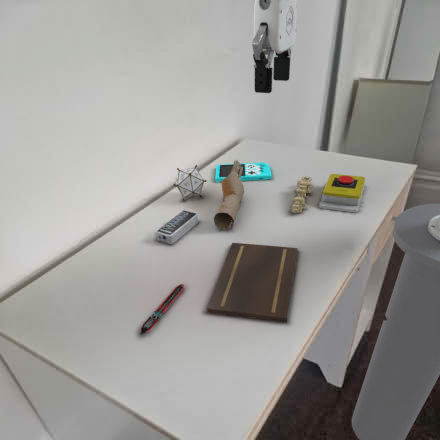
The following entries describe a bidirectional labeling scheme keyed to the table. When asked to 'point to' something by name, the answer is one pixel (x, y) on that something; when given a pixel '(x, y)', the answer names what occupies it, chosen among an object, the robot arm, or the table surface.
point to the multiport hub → (177, 227)
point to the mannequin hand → (230, 198)
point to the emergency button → (343, 193)
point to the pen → (161, 309)
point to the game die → (189, 182)
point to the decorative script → (301, 194)
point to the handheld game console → (245, 171)
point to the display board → (255, 282)
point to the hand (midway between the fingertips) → (272, 86)
